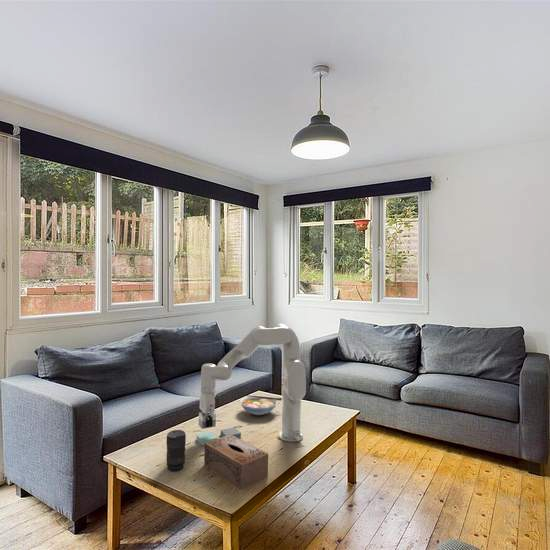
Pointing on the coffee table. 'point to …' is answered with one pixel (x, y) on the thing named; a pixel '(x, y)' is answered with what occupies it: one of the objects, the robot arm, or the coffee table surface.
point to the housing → (203, 420)
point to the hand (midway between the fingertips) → (207, 424)
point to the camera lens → (176, 450)
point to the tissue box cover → (236, 461)
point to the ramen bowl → (258, 404)
